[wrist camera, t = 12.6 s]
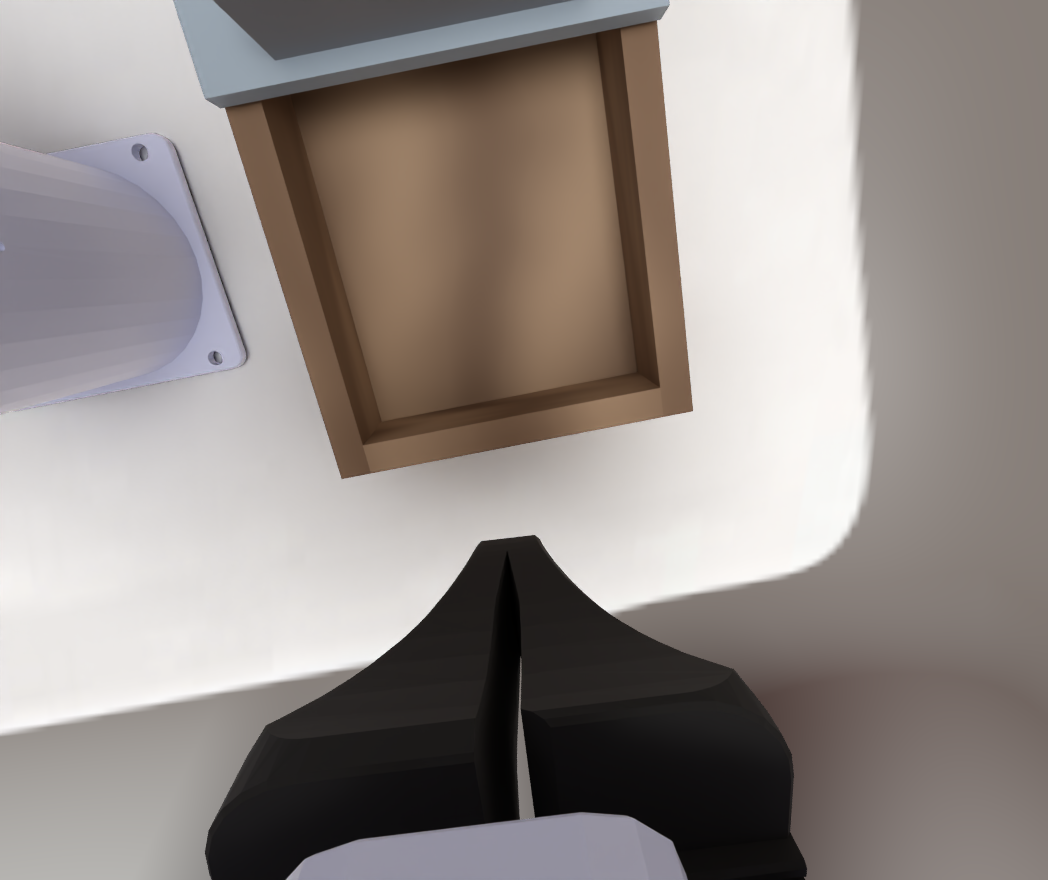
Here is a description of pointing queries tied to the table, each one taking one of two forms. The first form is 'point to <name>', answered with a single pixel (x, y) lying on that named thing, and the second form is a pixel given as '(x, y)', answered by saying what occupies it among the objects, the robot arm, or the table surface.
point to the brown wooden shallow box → (478, 247)
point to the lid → (371, 37)
